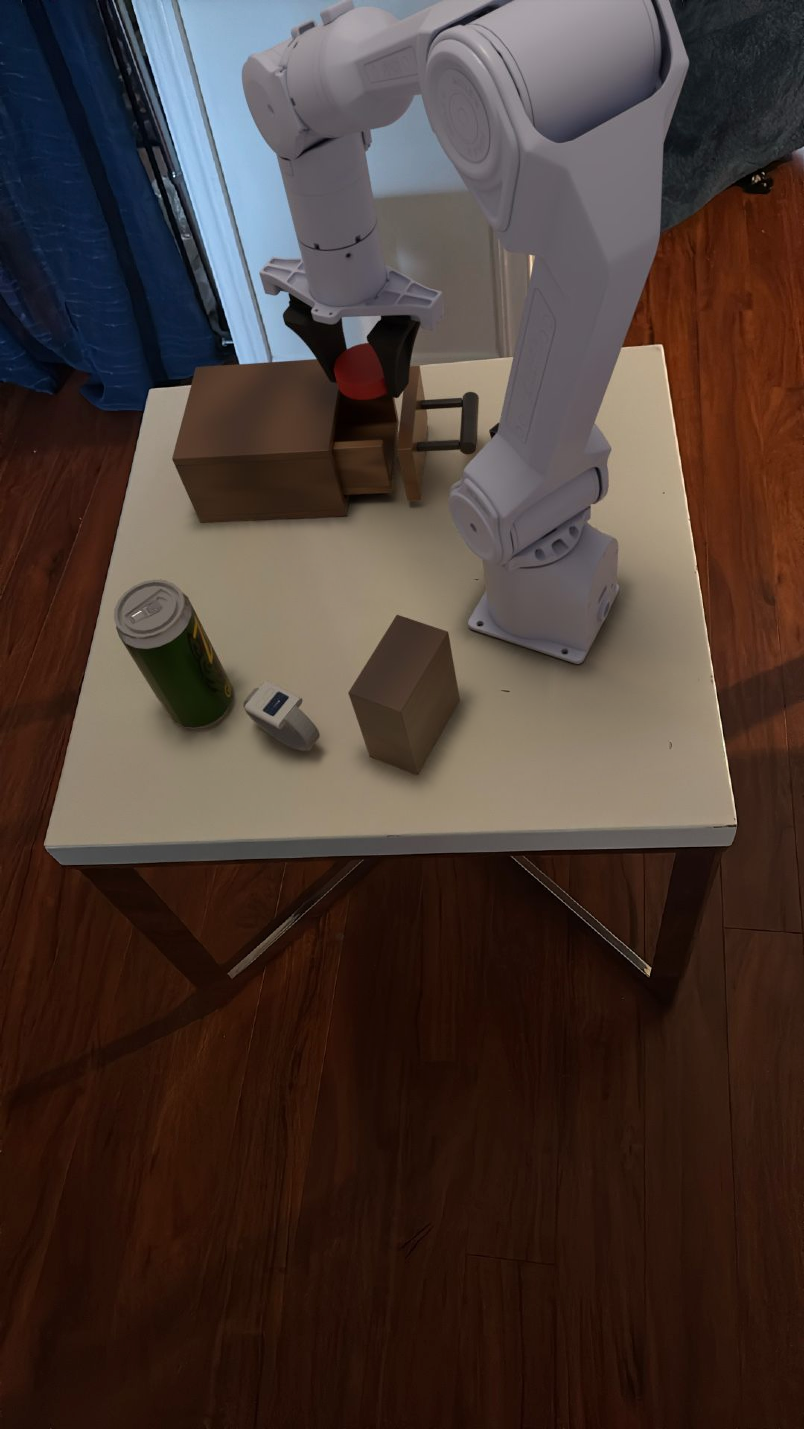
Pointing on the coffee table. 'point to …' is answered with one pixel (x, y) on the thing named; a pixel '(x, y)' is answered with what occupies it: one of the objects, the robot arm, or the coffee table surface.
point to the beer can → (174, 653)
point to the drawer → (394, 438)
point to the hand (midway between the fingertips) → (368, 381)
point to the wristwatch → (281, 716)
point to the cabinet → (260, 442)
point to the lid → (360, 373)
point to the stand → (406, 693)
